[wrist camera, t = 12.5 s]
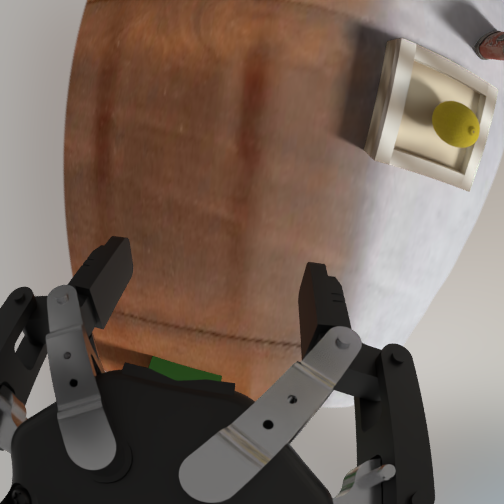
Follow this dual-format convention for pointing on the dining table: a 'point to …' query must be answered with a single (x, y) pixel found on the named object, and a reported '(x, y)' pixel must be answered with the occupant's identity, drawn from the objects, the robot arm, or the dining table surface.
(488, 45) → the lighter
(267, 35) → the dining table surface
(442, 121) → the lemon
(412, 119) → the birch base
